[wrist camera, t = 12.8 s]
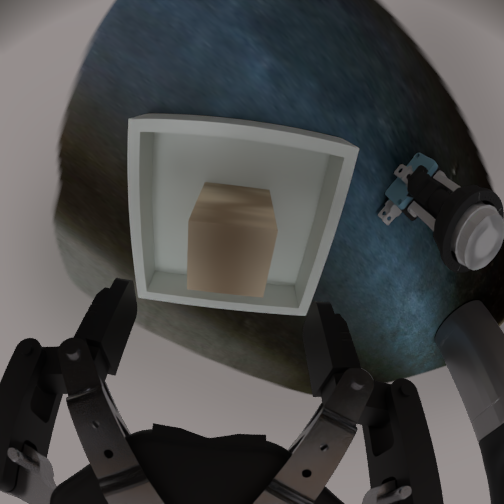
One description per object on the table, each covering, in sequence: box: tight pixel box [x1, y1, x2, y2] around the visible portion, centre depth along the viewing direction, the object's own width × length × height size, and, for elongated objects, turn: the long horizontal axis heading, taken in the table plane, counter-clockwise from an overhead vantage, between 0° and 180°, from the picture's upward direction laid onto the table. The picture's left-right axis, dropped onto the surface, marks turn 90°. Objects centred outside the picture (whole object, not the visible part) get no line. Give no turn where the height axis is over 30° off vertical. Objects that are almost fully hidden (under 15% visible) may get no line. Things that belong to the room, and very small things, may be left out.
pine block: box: [187, 182, 278, 298], centre depth 17 cm, size 4×4×6 cm
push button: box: [378, 153, 504, 272], centre depth 15 cm, size 7×5×10 cm
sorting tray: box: [128, 113, 359, 316], centre depth 19 cm, size 14×14×4 cm
